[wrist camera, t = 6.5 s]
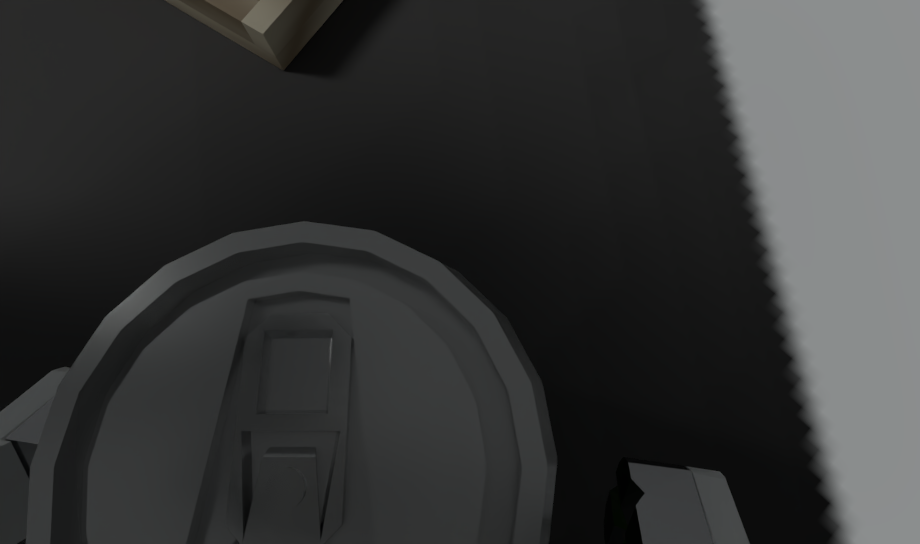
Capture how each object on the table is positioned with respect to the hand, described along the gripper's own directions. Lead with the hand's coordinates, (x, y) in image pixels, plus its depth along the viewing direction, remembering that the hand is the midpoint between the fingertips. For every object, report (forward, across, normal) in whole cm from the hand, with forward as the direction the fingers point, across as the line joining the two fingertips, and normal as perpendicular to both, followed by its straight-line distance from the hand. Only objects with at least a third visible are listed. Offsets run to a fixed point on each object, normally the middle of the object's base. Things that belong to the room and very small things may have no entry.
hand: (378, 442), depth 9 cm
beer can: (+6, 0, +6) cm, 8 cm away
